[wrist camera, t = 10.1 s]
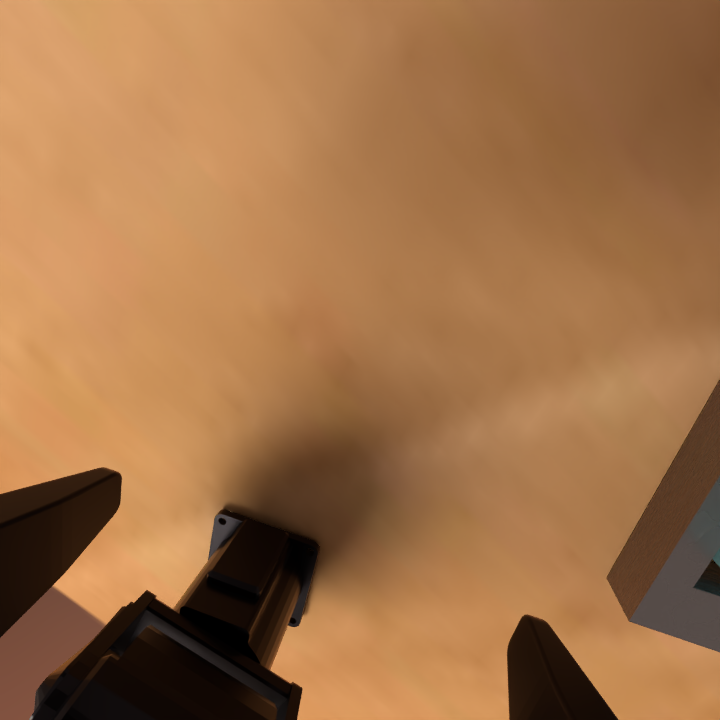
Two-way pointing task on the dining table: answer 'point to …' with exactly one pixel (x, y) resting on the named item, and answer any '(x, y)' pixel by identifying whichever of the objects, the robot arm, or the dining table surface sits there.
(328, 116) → the dining table surface
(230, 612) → the robot arm
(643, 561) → the plate with rectangular holes
